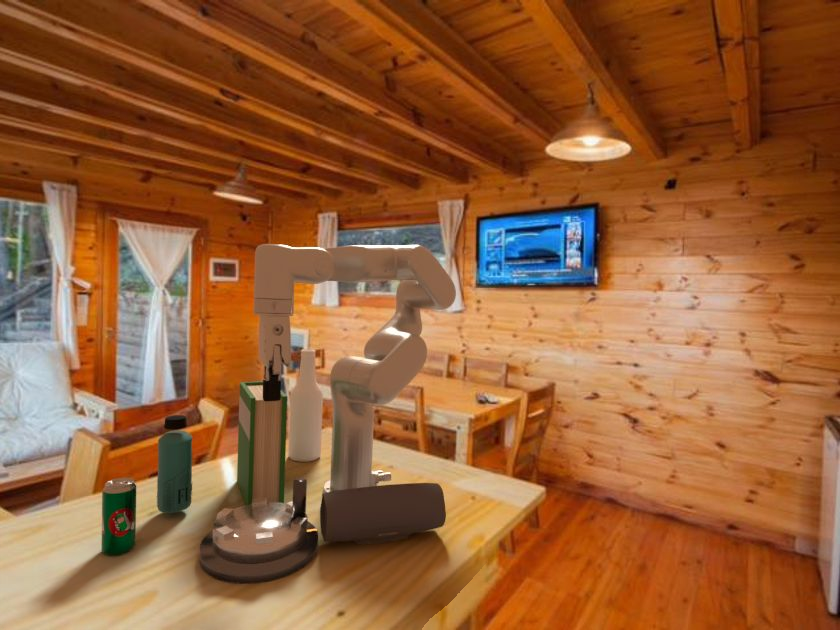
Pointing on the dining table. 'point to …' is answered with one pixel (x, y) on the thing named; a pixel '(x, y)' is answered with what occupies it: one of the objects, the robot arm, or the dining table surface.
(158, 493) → the beverage bottle
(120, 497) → the soda can
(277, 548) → the brown round knobbed piece
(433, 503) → the bluetooth speaker
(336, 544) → the dining table surface
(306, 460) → the white bottle
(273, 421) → the hardback book
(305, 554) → the dark brown round plate
